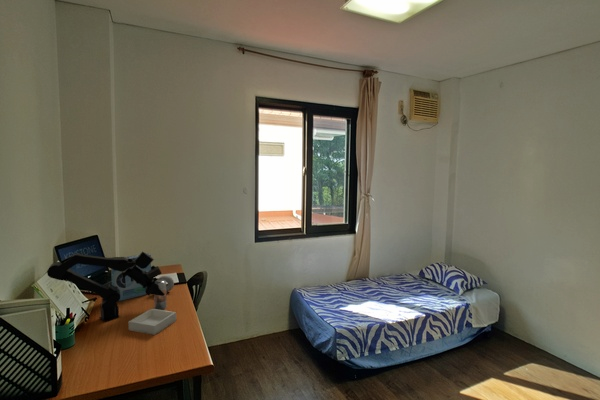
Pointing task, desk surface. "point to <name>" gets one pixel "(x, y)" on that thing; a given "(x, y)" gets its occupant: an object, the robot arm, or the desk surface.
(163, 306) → the tin
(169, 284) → the donut
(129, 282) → the gum box
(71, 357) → the desk surface
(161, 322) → the tray
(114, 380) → the desk surface
